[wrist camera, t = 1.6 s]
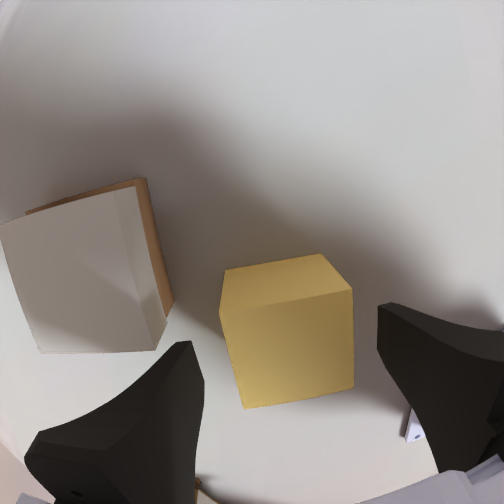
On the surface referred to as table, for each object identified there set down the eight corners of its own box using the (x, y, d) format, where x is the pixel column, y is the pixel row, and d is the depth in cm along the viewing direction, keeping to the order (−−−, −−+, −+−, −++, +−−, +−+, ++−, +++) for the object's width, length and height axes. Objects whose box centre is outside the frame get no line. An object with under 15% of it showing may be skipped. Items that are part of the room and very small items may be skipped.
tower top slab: (135, 185, 11) (113, 190, 9) (167, 322, 13) (155, 350, 11) (26, 215, 11) (-3, 225, 9) (61, 330, 13) (40, 353, 11)
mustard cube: (320, 252, 14) (352, 288, 10) (327, 334, 16) (353, 388, 11) (225, 269, 14) (218, 313, 10) (242, 349, 16) (243, 409, 11)
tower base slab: (149, 177, 13) (133, 179, 11) (176, 297, 15) (166, 317, 13) (49, 205, 14) (25, 212, 11) (79, 309, 15) (60, 327, 13)
